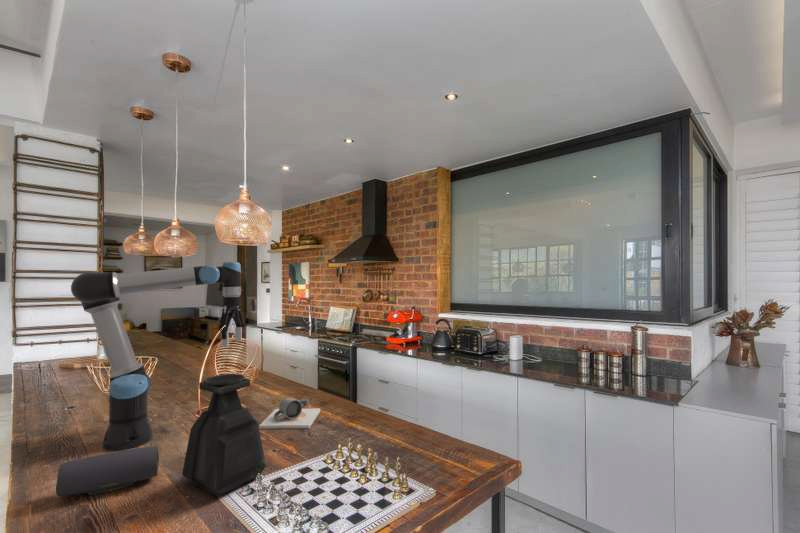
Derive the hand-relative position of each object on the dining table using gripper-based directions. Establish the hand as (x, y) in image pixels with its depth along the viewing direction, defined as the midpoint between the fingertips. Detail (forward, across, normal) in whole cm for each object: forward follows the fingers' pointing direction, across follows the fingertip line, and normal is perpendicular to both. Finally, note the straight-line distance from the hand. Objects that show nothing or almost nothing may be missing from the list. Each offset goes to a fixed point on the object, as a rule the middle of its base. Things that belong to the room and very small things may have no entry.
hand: (231, 344), depth 175 cm
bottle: (+31, -58, -24) cm, 70 cm away
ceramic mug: (+29, -10, -28) cm, 42 cm away
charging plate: (+31, -2, -29) cm, 42 cm away
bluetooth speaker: (+31, -62, +7) cm, 70 cm away
